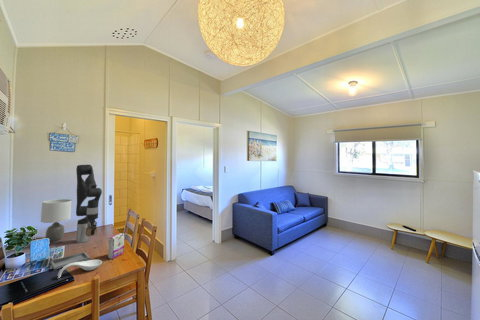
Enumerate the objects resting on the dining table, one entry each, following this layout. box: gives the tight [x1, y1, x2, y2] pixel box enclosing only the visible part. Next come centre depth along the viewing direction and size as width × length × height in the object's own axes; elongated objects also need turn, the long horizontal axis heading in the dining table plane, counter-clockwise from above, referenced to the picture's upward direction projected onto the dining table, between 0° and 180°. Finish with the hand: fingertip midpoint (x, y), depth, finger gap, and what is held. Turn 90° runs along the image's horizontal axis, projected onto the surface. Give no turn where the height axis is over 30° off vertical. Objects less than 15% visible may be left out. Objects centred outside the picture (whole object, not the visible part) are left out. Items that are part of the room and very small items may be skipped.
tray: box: [50, 251, 91, 270], centre depth 144 cm, size 14×20×2 cm
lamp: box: [40, 198, 72, 242], centre depth 184 cm, size 21×21×37 cm
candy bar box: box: [107, 232, 126, 260], centre depth 156 cm, size 11×5×16 cm, turn 168°
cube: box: [85, 226, 98, 238], centre depth 155 cm, size 6×6×6 cm
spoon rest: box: [57, 259, 103, 279], centre depth 133 cm, size 24×12×7 cm, turn 139°
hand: (91, 233), depth 155 cm, fingers closed on cube, 6 cm apart
